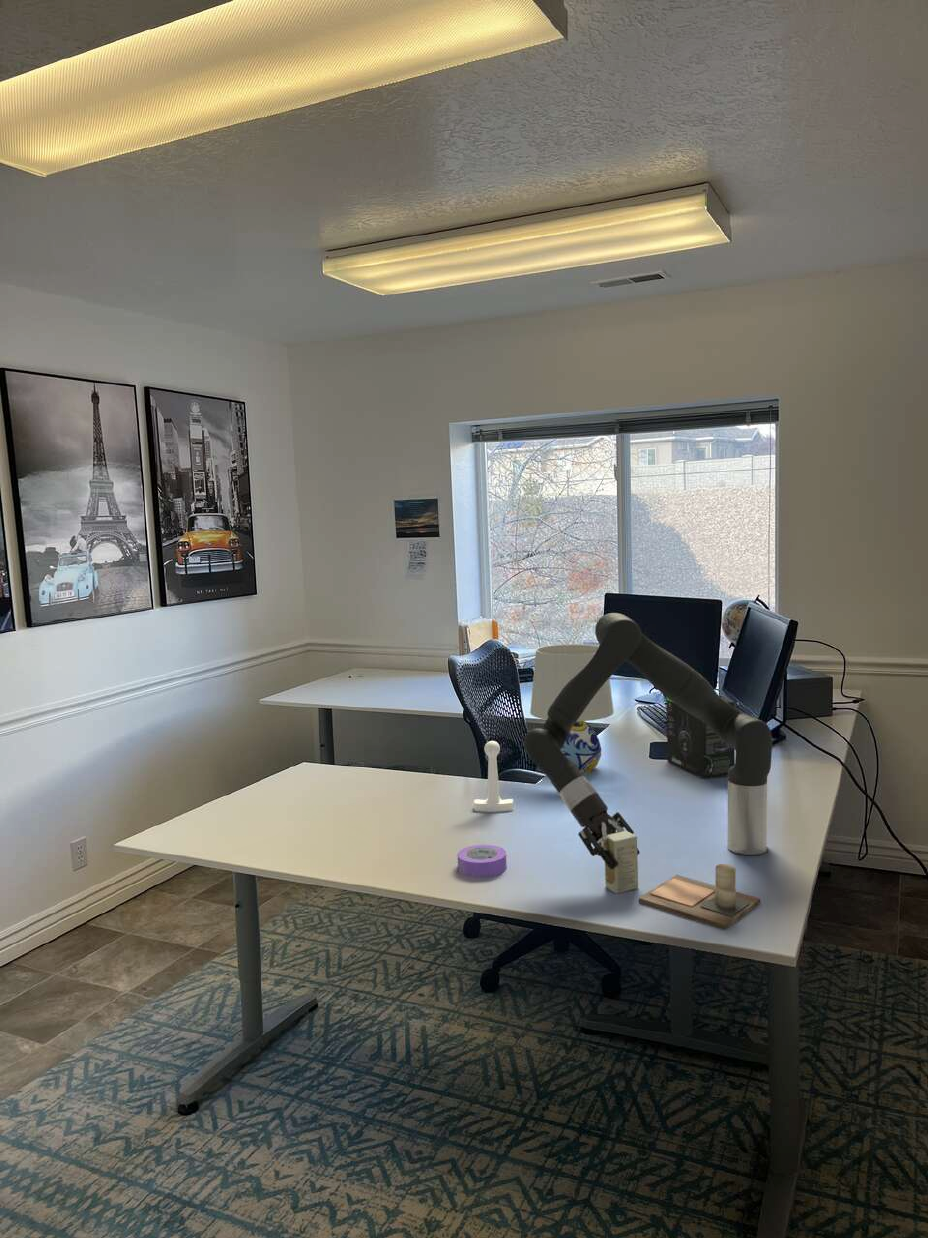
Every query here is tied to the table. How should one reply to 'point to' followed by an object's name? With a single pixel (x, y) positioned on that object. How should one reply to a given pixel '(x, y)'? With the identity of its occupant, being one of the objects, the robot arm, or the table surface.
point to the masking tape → (482, 861)
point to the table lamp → (548, 682)
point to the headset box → (696, 744)
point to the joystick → (493, 785)
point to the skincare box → (622, 862)
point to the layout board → (703, 898)
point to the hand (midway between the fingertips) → (626, 861)
